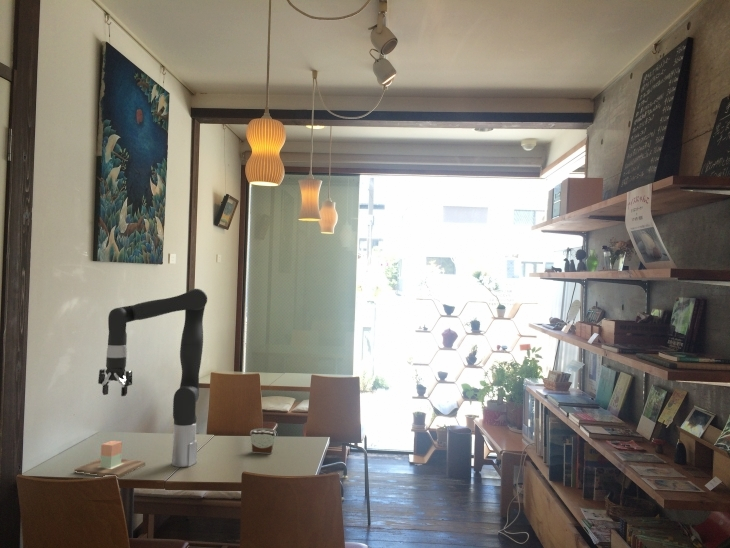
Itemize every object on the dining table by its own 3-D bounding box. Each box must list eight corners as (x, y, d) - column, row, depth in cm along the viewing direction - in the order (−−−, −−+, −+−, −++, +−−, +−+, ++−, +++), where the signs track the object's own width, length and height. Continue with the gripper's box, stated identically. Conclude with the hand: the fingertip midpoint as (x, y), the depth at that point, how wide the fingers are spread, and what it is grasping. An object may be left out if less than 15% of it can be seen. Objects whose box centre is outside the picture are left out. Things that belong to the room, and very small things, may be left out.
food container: (278, 450, 251) (279, 428, 251) (274, 454, 245) (275, 432, 245) (253, 448, 252) (253, 427, 253) (249, 452, 246) (249, 430, 246)
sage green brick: (120, 463, 219) (121, 452, 219) (110, 468, 213) (111, 456, 214) (110, 462, 220) (111, 451, 221) (100, 466, 215) (100, 455, 215)
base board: (144, 465, 223) (145, 461, 223) (118, 478, 206) (118, 474, 207) (103, 460, 227) (103, 456, 227) (74, 473, 211) (74, 469, 211)
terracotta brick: (121, 452, 219) (122, 441, 220) (111, 456, 214) (111, 445, 214) (111, 451, 221) (111, 440, 221) (100, 455, 215) (101, 444, 215)
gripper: (137, 355, 221) (135, 394, 220) (107, 354, 224) (105, 392, 223) (125, 357, 214) (123, 398, 213) (95, 355, 217) (93, 395, 216)
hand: (114, 395), depth 218 cm, fingers open, 8 cm apart
